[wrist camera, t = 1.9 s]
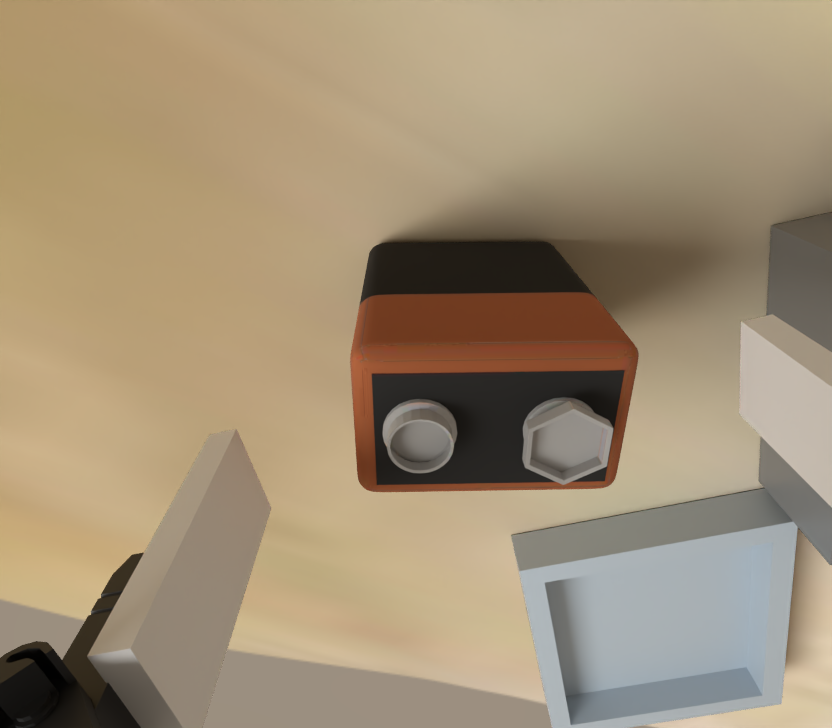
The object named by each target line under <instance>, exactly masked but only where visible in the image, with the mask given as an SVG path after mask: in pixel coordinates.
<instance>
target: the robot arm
mask: <svg viewBox="0 0 832 728" xmlns="http://www.w3.org/2000/svg"><path fill="white" fill-rule="evenodd" d="M739 415H740V416H741V417H742V418H743V419H744V420H745V421H746V422H747V423H748V424H749V425H750V426H751V427H752V428H753V429H754V430H755V431H756V432H757V433H758V434H759V435H760V436H761V437H762V438H763V439H764V440H765V441H766V442H767V443H768V444H769V445H770V446H771V447H772V448H773V449H774V450H775V451H776V452H777V453H778V454H779V455H780V456H781V457H782V458H783V459H784V460H785V461H786V462H787V463H788V464H789V465H790V466H791V467H792V468H793V469H794V470H795V471H796V472H797V473H798V474H799V475H800V476H801V477H802V478H803V479H804V480H805V481H806V482H807V483H808V484H809V485H810V486H811V487H812V488H813V489H814V490H815V491H816V492H817V493H818V494H819V495H820V496H821V497H822V498H823V499H824V500H825V501H826V502H827V503H828V504H829V505H830V506H831V507H832V352H830V351H829V350H827V349H826V348H824V347H823V346H821V345H820V344H818V343H816V342H815V341H813V340H812V339H810V338H809V337H807V336H806V335H804V334H802V333H801V332H799V331H798V330H796V329H795V328H793V327H792V326H790V325H788V324H787V323H785V322H784V321H782V320H781V319H779V318H778V317H776V316H774V315H773V314H772V315H768V316H763V317H758V318H754V319H749V320H744V321H741V343H740V410H739ZM270 511H271V506H270V504H269V502H268V499H267V497H266V495H265V493H264V490H263V488H262V486H261V484H260V481H259V479H258V477H257V474H256V472H255V470H254V468H253V465H252V463H251V461H250V458H249V456H248V454H247V452H246V449H245V447H244V445H243V443H242V440H241V438H240V436H239V433H238V431H237V429H233V430H229V431H224V432H219V433H215V434H210V435H209V436H208V438H207V440H206V442H205V443H204V445H203V447H202V449H201V451H200V452H199V454H198V456H197V458H196V460H195V462H194V463H193V465H192V467H191V469H190V471H189V472H188V474H187V476H186V478H185V480H184V481H183V483H182V485H181V487H180V489H179V490H178V492H177V494H176V496H175V498H174V500H173V501H172V503H171V505H170V507H169V509H168V510H167V512H166V514H165V516H164V518H163V519H162V521H161V523H160V525H159V527H158V529H157V530H156V532H155V534H154V536H153V538H152V539H151V541H150V543H149V545H148V547H147V548H146V550H145V552H144V553H139V554H134V555H131V556H130V557H129V558H128V559H127V561H126V562H125V563H124V564H123V565H122V566H121V567H120V568H119V569H118V570H117V571H116V572H115V573H114V574H113V575H112V577H111V578H110V580H109V582H108V583H107V585H106V587H105V589H104V590H103V592H102V594H101V598H100V599H98V600H97V602H96V604H95V605H94V607H93V609H92V611H91V615H89V616H88V617H87V619H86V621H85V622H84V624H83V626H82V628H81V629H80V631H79V633H78V634H77V636H76V638H75V639H74V641H73V643H72V644H71V646H70V648H69V649H68V651H67V653H66V655H65V656H64V658H63V660H61V659H60V657H59V656H58V655H57V653H56V652H55V651H54V649H53V648H52V647H51V646H50V645H49V644H48V643H47V642H37V641H36V642H32V643H29V644H25V645H22V646H20V647H18V648H16V649H14V650H12V651H10V652H8V653H6V654H5V655H3V656H2V657H1V658H0V728H203V724H204V721H205V718H206V715H207V712H208V708H209V705H210V702H211V699H212V696H213V693H214V689H215V686H216V683H217V680H218V676H219V673H220V670H221V667H222V664H223V661H224V658H225V654H226V651H227V648H228V645H229V642H230V638H231V635H232V632H233V629H234V626H235V622H236V619H237V616H238V613H239V610H240V606H241V603H242V600H243V597H244V594H245V591H246V587H247V584H248V581H249V578H250V575H251V571H252V568H253V565H254V562H255V559H256V555H257V552H258V549H259V546H260V543H261V539H262V536H263V533H264V530H265V527H266V523H267V520H268V517H269V514H270Z"/></svg>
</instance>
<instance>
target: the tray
mask: <svg viewBox="0 0 832 728" xmlns="http://www.w3.org/2000/svg"><path fill="white" fill-rule="evenodd" d="M797 529H798V527H797V526H796V524H795V523H794V522H793V521H792V520H791V518H790V517H789V516H788V515H787V514H786V513H785V511H784V510H783V509H782V508H781V507H780V506H779V504H778V503H777V502H776V501H775V500H774V498H773V497H772V496H771V495H770V494H769V493H768V491H767V490H766V489H765V488H763V489H758V490H752V491H747V492H742V493H736V494H731V495H726V496H720V497H715V498H710V499H704V500H699V501H693V502H688V503H683V504H677V505H672V506H667V507H661V508H656V509H650V510H645V511H640V512H634V513H629V514H624V515H618V516H613V517H608V518H602V519H597V520H591V521H586V522H581V523H575V524H570V525H565V526H559V527H554V528H549V529H543V530H538V531H532V532H527V533H522V534H516V535H511V537H512V542H513V546H514V551H515V556H516V560H517V565H518V570H519V575H520V579H521V584H522V589H523V594H524V598H525V603H526V608H527V613H528V617H529V622H530V627H531V632H532V636H533V641H534V646H535V650H536V655H537V660H538V665H539V669H540V674H541V679H542V684H543V688H544V693H545V698H546V702H547V707H548V711H549V716H550V720H551V725H552V728H628V727H635V726H641V725H648V724H654V723H661V722H667V721H674V720H680V719H687V718H693V717H700V716H706V715H713V714H719V713H726V712H733V711H739V710H746V709H752V708H759V707H765V706H772V705H778V704H781V703H782V692H783V681H784V670H785V660H786V649H787V638H788V627H789V616H790V605H791V594H792V584H793V573H794V562H795V551H796V540H797Z"/></svg>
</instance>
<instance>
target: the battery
mask: <svg viewBox="0 0 832 728" xmlns="http://www.w3.org/2000/svg"><path fill="white" fill-rule="evenodd" d="M350 363H351V380H352V396H353V411H354V427H355V442H356V458H357V472H358V479H359V482H360V484H361V485H362V486H363V487H364V488H365V489H366V490H369V491H373V492H425V491H486V490H547V489H596V488H604V487H607V486H609V485H610V484H612V482H613V481H614V479H615V477H616V473H617V468H618V463H619V458H620V453H621V448H622V442H623V437H624V432H625V427H626V421H627V416H628V411H629V405H630V400H631V395H632V390H633V384H634V379H635V374H636V369H637V363H638V350H637V348H636V346H635V345H634V343H633V342H632V341H631V340H630V338H629V337H628V336H627V335H626V334H625V332H624V331H623V330H622V329H621V328H620V326H619V325H618V324H617V323H616V321H615V320H614V319H613V318H612V317H611V315H610V314H609V313H608V312H607V311H606V309H605V308H604V307H603V306H602V304H601V303H600V302H599V301H598V300H597V298H596V297H595V296H594V295H593V294H592V292H591V291H590V290H589V289H588V287H587V286H586V285H585V284H584V283H583V281H582V280H581V279H580V278H579V277H578V275H577V274H576V273H575V272H574V270H573V269H572V268H571V267H570V266H569V264H568V263H567V262H566V261H565V260H564V258H563V257H562V256H561V255H560V253H559V252H558V251H557V250H556V249H555V248H554V246H552V245H551V244H550V243H547V242H449V243H385V244H379V245H376V246H375V247H373V248H372V250H371V251H370V254H369V258H368V263H367V269H366V274H365V279H364V285H363V290H362V296H361V301H360V307H359V312H358V317H357V323H356V328H355V334H354V339H353V344H352V350H351V358H350Z"/></svg>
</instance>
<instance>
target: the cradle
mask: <svg viewBox="0 0 832 728" xmlns="http://www.w3.org/2000/svg"><path fill="white" fill-rule="evenodd" d="M772 314H773V315H774V316H776V317H778V318H779V319H781V320H782V321H784V322H785V323H787V324H788V325H790V326H792V327H793V328H795V329H796V330H798V331H799V332H801V333H802V334H804V335H806V336H807V337H809V338H810V339H812V340H813V341H815V342H816V343H818V344H820V345H821V346H823V347H824V348H826V349H827V350H829V351H830V352H832V212H830V213H825V214H821V215H816V216H812V217H807V218H803V219H799V220H794V221H790V222H785V223H781V224H776V225H772V226H771V239H770V259H769V280H768V300H767V316H768V315H772ZM759 482H760V483H761V484H762V486H763V487H764V488H765V489H766V490H767V491H768V493H769V494H770V495H771V496H772V497H773V498H774V500H775V501H776V502H777V503H778V504H779V506H780V507H781V508H782V509H783V510H784V511H785V513H786V514H787V515H788V516H789V517H790V518H791V520H792V521H793V522H794V523H795V524H796V526H797V527H798V528H799V529H800V530H801V531H802V533H803V534H804V535H805V536H806V537H807V538H808V540H809V541H810V542H811V543H812V544H813V546H814V547H815V548H816V549H817V550H818V551H819V553H820V554H821V555H822V556H823V557H824V559H825V560H826V561H827V562H828V563H829V564H830V565H832V507H831V506H830V505H829V504H828V503H827V502H826V501H825V500H824V499H823V498H822V497H821V496H820V495H819V494H818V493H817V492H816V491H815V490H814V489H813V488H812V487H811V486H810V485H809V484H808V483H807V482H806V481H805V480H804V479H803V478H802V477H801V476H800V475H799V474H798V473H797V472H796V471H795V470H794V469H793V468H792V467H791V466H790V465H789V464H788V463H787V462H786V461H785V460H784V459H783V458H782V457H781V456H780V455H779V454H778V453H777V452H776V451H775V450H774V449H773V448H772V447H771V446H770V445H769V444H768V443H767V442H766V441H765V440H764V439H763V438H762V437H761V444H760V464H759Z"/></svg>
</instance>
